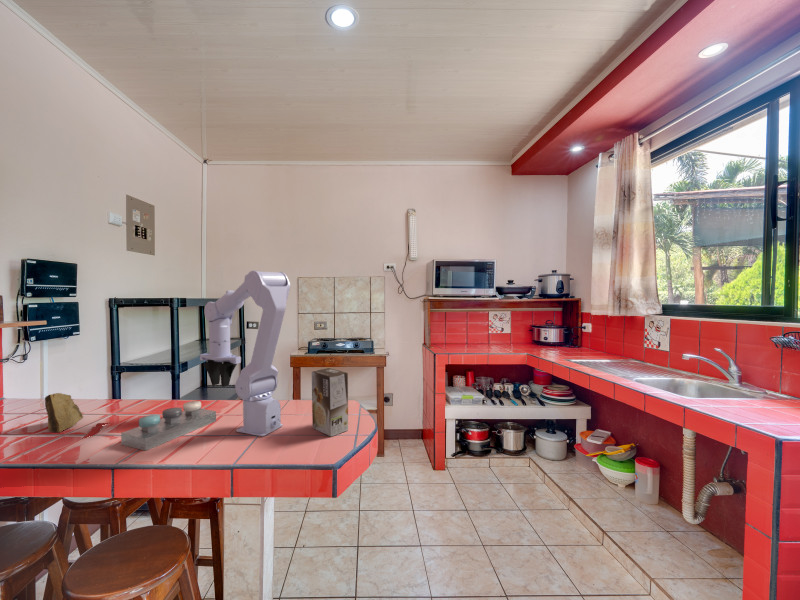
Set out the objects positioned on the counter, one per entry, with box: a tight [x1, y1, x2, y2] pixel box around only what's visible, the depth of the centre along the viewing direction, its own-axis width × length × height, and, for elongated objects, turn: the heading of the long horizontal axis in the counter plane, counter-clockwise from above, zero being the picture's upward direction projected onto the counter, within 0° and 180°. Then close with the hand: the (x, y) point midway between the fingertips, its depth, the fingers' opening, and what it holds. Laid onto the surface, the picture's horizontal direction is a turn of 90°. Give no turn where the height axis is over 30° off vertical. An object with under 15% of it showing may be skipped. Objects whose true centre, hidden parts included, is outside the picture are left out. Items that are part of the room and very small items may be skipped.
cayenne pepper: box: [81, 422, 109, 440], centre depth 96 cm, size 12×5×2 cm, turn 179°
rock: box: [44, 392, 84, 433], centre depth 100 cm, size 11×9×10 cm
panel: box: [120, 408, 217, 452], centre depth 95 cm, size 9×20×3 cm, turn 159°
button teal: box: [138, 414, 161, 433], centre depth 89 cm, size 4×4×4 cm
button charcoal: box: [161, 407, 183, 424], centre depth 95 cm, size 4×4×4 cm
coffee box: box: [311, 367, 349, 437], centre depth 97 cm, size 9×6×16 cm
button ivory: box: [182, 400, 202, 416], centre depth 100 cm, size 4×4×4 cm
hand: (220, 385), depth 107 cm, fingers open, 3 cm apart
